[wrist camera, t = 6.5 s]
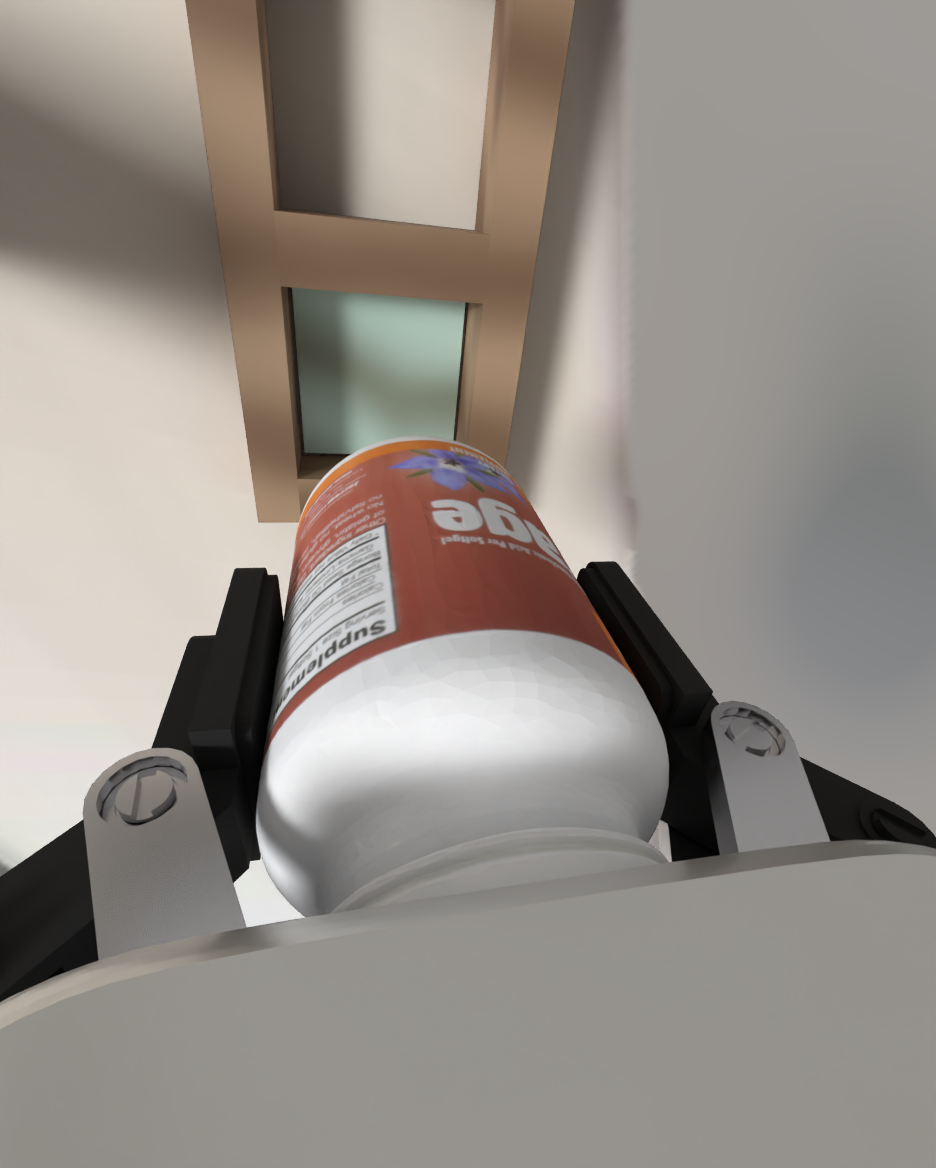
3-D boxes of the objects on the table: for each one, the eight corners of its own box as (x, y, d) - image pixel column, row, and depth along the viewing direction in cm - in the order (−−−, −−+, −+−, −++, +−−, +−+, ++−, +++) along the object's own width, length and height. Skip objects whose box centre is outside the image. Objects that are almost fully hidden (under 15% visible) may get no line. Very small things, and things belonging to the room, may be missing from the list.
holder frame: (171, -241, 15) (140, -321, 13) (567, -133, 18) (602, -183, 15) (265, 494, 28) (258, 522, 26) (484, 496, 31) (496, 521, 29)
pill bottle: (569, 531, 15) (884, 996, 6) (416, 658, 17) (499, 1161, 8) (414, 369, 12) (629, 874, 3) (243, 547, 14) (64, 1199, 5)
